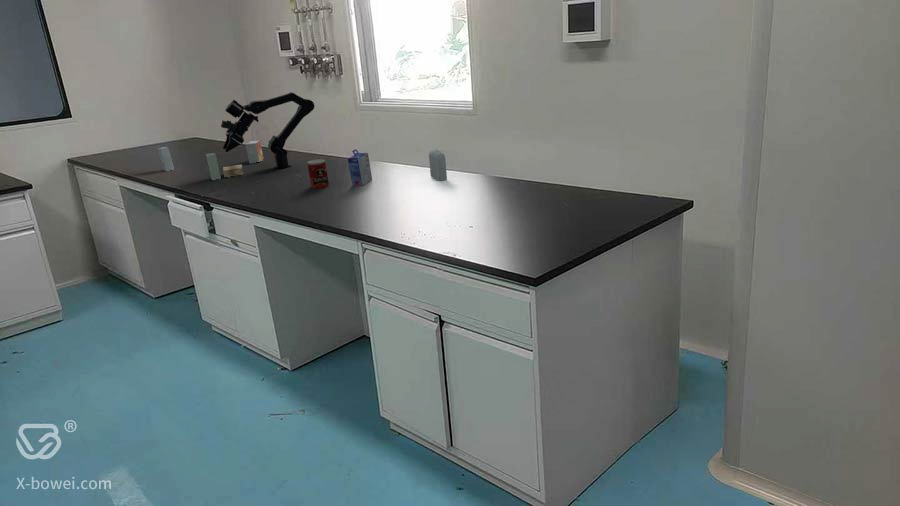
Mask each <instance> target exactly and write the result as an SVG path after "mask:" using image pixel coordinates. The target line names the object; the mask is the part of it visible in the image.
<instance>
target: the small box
mask: <svg viewBox="0 0 900 506" xmlns="http://www.w3.org/2000/svg"><path fill="white" fill-rule="evenodd" d="M261 144H262V143H261V140H252V141H248V142H247V143H245V148H246V152H247V157H248V162H249V163H248V164H257V163H256V162H260V161H261V162H262V161H264V160H263V159H264V153H263V149H262V145H261ZM261 162H260V163H261Z"/></svg>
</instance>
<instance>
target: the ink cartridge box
mask: <svg viewBox="0 0 900 506" xmlns="http://www.w3.org/2000/svg"><path fill="white" fill-rule="evenodd" d="M351 151H352V153H353V155H352V156H350V157H347V161H348V162H347V163H348V168H349V169H348V170H349V173H350V179H351V186H355V187H356V186H357V187H358V186H359V187H362V186H364V185H366V184H367V183H369V182H371V181H373V177H372V170H371V169H372V168H371V163H370V157H369V153H368V152H359V150H358V149H353V150H351Z"/></svg>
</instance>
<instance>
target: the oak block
mask: <svg viewBox="0 0 900 506" xmlns="http://www.w3.org/2000/svg"><path fill="white" fill-rule="evenodd" d="M243 169H244V168H243V164H237V165H236V164H234V165H229V166H223V167H222V172H223V177H224V178H225V177H228V178H231V177H230V176H235V177H238V176H237V175H242V176H244V175H243V174H244V170H243Z"/></svg>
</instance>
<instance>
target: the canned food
mask: <svg viewBox="0 0 900 506" xmlns="http://www.w3.org/2000/svg"><path fill="white" fill-rule="evenodd" d="M307 171H308V176H309V181H310V187H311V188H312V187H314V188H313V189H323V188H326V186H327V187H328V186H329V176H328V169H327V163H326V159H322V158H319V159H318V158H317V159H311V160H309V161H307ZM322 187H323V188H322Z"/></svg>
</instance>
